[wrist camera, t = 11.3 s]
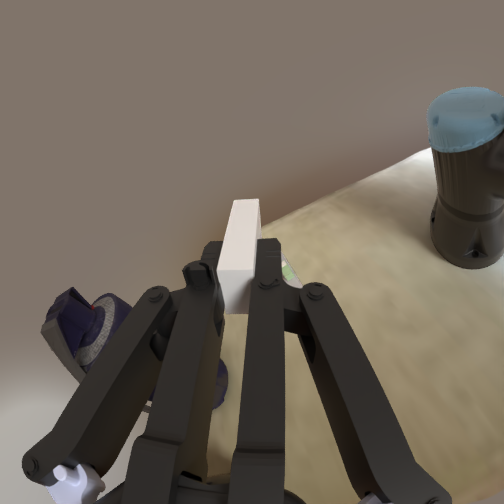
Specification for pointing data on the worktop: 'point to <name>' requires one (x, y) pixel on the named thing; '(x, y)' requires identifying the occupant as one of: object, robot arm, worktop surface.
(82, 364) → the navy red-striped canister
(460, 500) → the worktop surface
